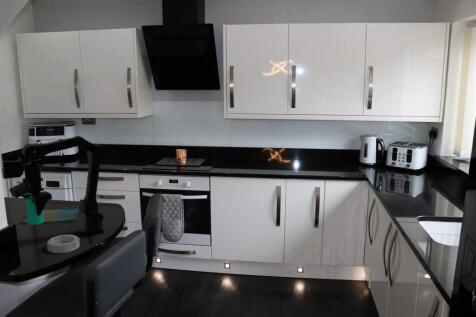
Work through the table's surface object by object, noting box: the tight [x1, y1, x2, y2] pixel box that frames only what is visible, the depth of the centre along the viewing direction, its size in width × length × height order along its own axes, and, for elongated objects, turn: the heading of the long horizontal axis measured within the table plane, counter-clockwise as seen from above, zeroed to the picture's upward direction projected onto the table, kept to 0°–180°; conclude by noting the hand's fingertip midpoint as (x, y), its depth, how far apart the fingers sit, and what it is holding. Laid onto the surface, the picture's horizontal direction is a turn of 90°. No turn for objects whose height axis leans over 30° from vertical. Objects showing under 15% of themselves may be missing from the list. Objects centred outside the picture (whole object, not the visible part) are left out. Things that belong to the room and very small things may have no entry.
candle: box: [25, 196, 44, 226], centre depth 159 cm, size 6×6×12 cm
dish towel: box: [20, 207, 81, 225], centre depth 193 cm, size 17×23×2 cm
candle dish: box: [46, 234, 81, 254], centre depth 159 cm, size 12×12×3 cm
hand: (35, 213), depth 159 cm, fingers closed on candle, 7 cm apart
